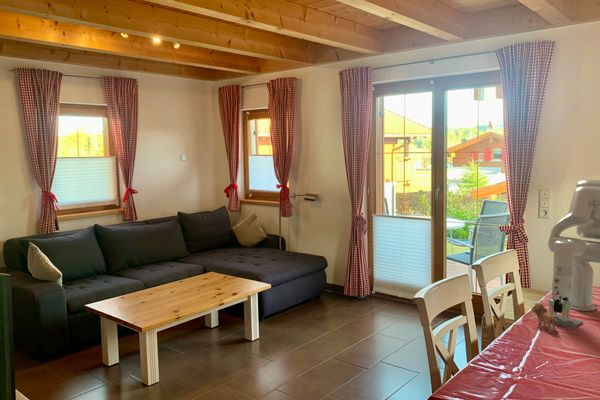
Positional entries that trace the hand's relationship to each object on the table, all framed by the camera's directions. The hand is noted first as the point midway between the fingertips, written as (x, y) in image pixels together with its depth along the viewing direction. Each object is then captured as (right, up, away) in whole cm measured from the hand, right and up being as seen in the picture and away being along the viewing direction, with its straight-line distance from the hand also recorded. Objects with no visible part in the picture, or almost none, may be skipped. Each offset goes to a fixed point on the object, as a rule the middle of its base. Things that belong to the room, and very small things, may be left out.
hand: (560, 310), depth 206 cm
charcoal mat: (0, -5, +1) cm, 5 cm away
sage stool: (0, -3, +1) cm, 3 cm away
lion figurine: (-10, -6, -6) cm, 13 cm away
